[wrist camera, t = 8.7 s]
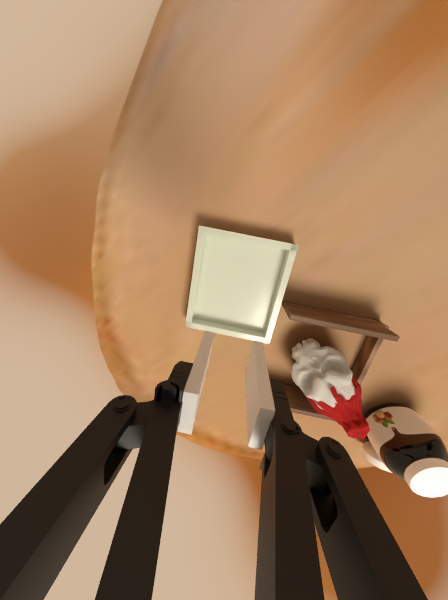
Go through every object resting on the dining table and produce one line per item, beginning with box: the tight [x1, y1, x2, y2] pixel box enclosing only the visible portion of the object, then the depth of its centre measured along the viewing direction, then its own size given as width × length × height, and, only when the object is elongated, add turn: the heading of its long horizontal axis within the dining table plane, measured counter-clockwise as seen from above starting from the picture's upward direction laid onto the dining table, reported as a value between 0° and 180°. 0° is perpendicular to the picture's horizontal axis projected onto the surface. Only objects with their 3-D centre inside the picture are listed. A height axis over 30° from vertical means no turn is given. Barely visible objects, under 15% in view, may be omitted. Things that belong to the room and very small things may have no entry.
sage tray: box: [185, 226, 298, 344], centre depth 35 cm, size 17×15×3 cm
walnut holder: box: [283, 302, 399, 421], centre depth 36 cm, size 18×17×6 cm
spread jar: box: [362, 404, 448, 497], centre depth 38 cm, size 12×11×12 cm
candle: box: [291, 338, 370, 438], centre depth 35 cm, size 9×11×15 cm
